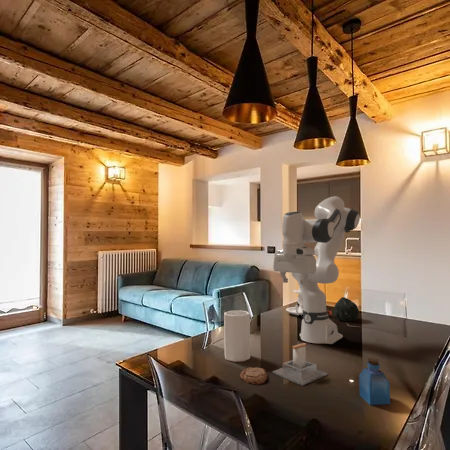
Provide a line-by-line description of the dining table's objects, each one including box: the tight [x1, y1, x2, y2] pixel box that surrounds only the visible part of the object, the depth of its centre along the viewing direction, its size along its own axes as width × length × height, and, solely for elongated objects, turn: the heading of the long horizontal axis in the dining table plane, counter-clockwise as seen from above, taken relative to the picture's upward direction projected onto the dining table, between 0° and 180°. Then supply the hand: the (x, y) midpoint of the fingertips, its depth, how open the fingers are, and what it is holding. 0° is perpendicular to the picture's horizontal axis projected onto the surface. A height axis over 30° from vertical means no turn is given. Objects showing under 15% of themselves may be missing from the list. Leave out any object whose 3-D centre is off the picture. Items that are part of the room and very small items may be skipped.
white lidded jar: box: [291, 342, 307, 369], centre depth 120 cm, size 5×6×10 cm
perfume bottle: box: [358, 357, 391, 406], centre depth 100 cm, size 6×6×12 cm
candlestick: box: [285, 282, 303, 317], centre depth 217 cm, size 21×25×28 cm
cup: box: [223, 309, 251, 363], centre depth 138 cm, size 11×11×18 cm
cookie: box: [239, 366, 268, 385], centre depth 117 cm, size 10×11×3 cm
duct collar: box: [272, 359, 328, 387], centre depth 120 cm, size 14×14×4 cm
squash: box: [333, 296, 360, 322], centre depth 202 cm, size 14×15×15 cm
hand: (294, 283), depth 136 cm, fingers open, 8 cm apart
